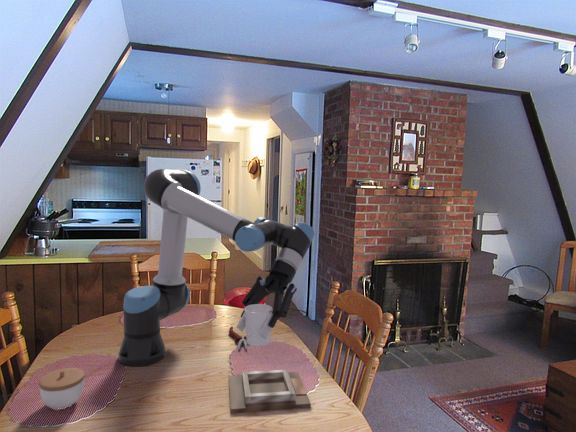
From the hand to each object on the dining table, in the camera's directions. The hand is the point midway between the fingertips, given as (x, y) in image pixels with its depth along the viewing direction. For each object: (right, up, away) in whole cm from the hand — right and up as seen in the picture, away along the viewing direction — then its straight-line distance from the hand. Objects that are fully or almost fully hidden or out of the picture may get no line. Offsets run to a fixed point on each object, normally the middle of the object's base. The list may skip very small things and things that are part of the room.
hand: (250, 332), depth 113 cm
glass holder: (+4, -19, +6) cm, 21 cm away
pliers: (-8, -16, +43) cm, 47 cm away
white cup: (+2, -4, +3) cm, 5 cm away
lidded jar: (-51, -19, -3) cm, 54 cm away
